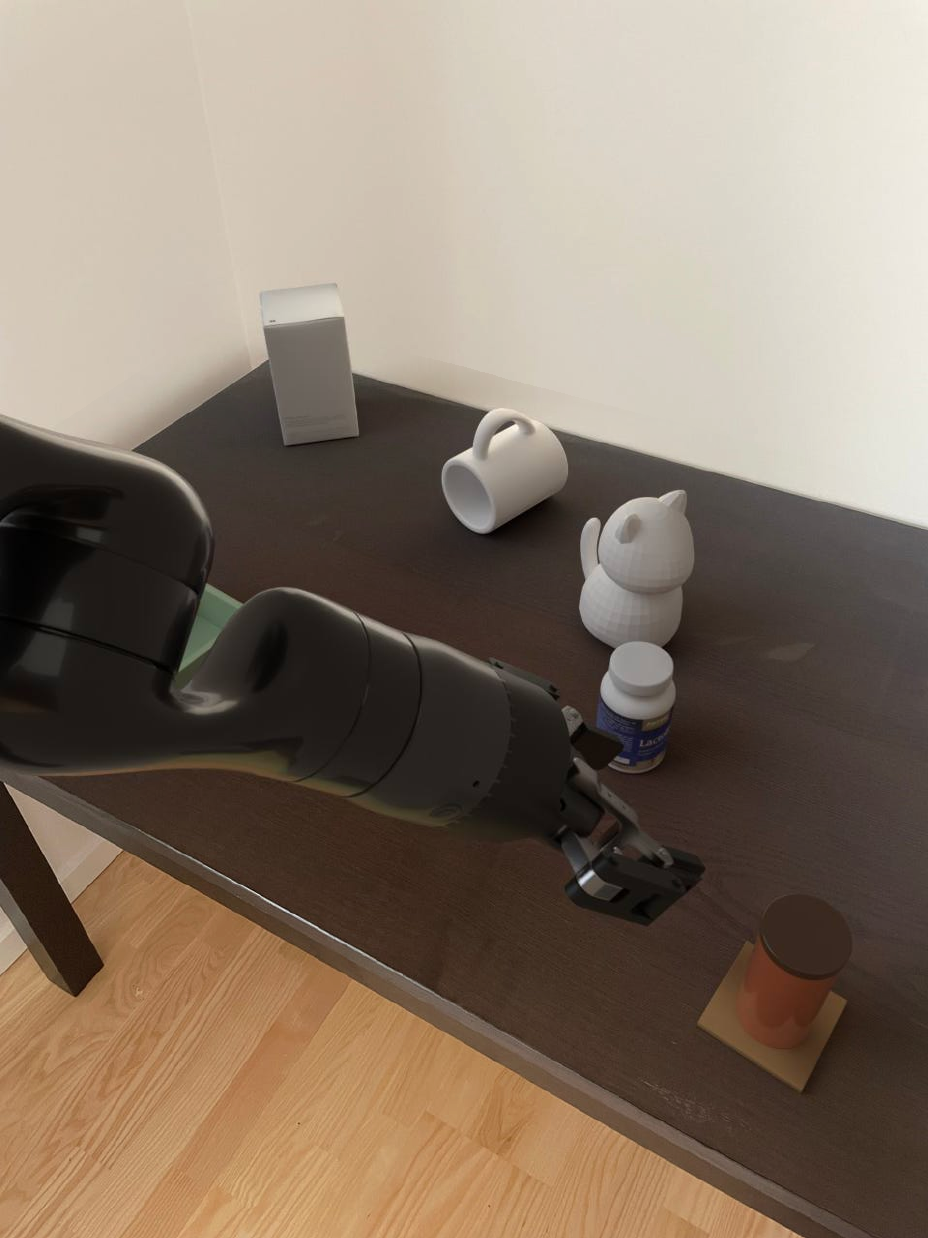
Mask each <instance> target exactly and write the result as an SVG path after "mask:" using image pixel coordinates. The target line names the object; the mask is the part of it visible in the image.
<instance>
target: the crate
mask: <svg viewBox="0 0 928 1238" xmlns="http://www.w3.org/2000/svg"><path fill="white" fill-rule="evenodd" d="M243 604H244V603H242V602H241V601H239V600H237V599H235V598H234V597H231V596H230V595H229V594H226V593H224V592H223V591H221V590H219V589H217V588H216V587H215V586H212V585H211V584H209V583H206V586H205V589H204V592H203V596H202V599H201V600H200V605H199V608H198V612H197V615H196V618H195V621H194V624H193V627H192V631H191V634H190V637H189V640H188V643H187V646H186V649H185V653H184V656H183V659H182V662H181V665H180V668H179V672H178V675H177V676H176V677H174V678H175V680H176V683H175V687H174V691H175V690H177V689H179V688H181V687H182V686H183V685H185V684H186V683H187V681H188V680H189V679H190V678H191V677H192V676H193V675H194V673H195V672H196V671H197V669H198V668H199V666H200V665H201V663H202V662H203V660H204V658H205V657H206V655H207V654H208V652H209V650H210V649H211V647H212V645H213V644H214V642H215V640H216V638H217V637H218V635H219V634H220V632H221V631H222V629H223V628H224V626H225V625H226V624H227V622H228V621H229V619H230V618H231V617H232V615H233V614H234V613H235V612H236V611H237V610H238V609H239V608H240V607H241V606H242V605H243Z"/></svg>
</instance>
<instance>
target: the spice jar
mask: <svg viewBox="0 0 928 1238" xmlns="http://www.w3.org/2000/svg"><path fill="white" fill-rule="evenodd" d="M850 929H851V928H850V927H849V925H848V923H847V921H846V920H845V918H844V917H843V915H842V914H841V913H840V912H839V911H838V910H837V909H836V908H835V907H834V906H832V905H831V904H829V903H828V902H827V901H825V900H823V899H821V898H818V897H816V896H813V895H809V894H805V893H790V894H789V893H788V894H784V895H782V896H779V897H777V898H775V899H774V900H773V901H771V902H770V903H769V904H768V905H767V906H766V908H765V909H764V911H763V913H762V916H761V919H760V922H759V926H758V933H757V936H756V939H755V941H754V947H753V950H752V953H751V956H750V959H749V961H748V964H747V967H746V970H745V973H744V976H743V979H742V982H741V984H740V987H739V990H738V993H737V996H736V1012H737V1015H738V1018H739V1020H740V1022H741V1024H742V1026H743V1027H744V1028H745V1030H746V1031H747V1032H748V1033H749V1034H750V1035H751V1036H752V1037H753V1038H754V1039H756V1040H757V1041H759V1042H761V1043H762V1044H765V1045H767V1046H770V1047H774V1048H791V1047H794V1046H797V1045H799V1044H800V1043H802V1042H803V1041H804V1040H805V1039H806V1038H807V1037H808V1036H809V1034H810V1032H811V1030H812V1028H813V1026H814V1024H815V1022H816V1020H817V1018H818V1016H819V1014H820V1012H821V1010H822V1008H823V1006H824V1004H825V1002H826V1000H827V998H828V995H829V993H830V991H832V989H833V987H834V985H835V983H836V981H837V980H838V977H839V976H840V973H841V971H842V970H843V969H844V968H845V967H846V965H847V963H848V961H849V959H850V957H851V955H852V951H853V937H852V932H851V930H850Z"/></svg>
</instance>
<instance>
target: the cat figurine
mask: <svg viewBox="0 0 928 1238" xmlns="http://www.w3.org/2000/svg"><path fill="white" fill-rule="evenodd" d="M687 497H688V496H687V491H686V490H685V489H677V490H676V489H675V490H672V491H670V492H667V493H665V494H663V495H661V496H660V497H654V496H644V497H643V496H642V497H637V498H633V499H631V500H628V501H627V502H625V503H624V504H622V505H621V506H619V507H618V508H616V510H615V511H614V512H612V514H611V515H610V517H609V518H608V520H607V521H606V523H605V525H604V526H603V529H602V532H601V534H600V531H601V521H600V519H599V518H598V517H591V518H590V519H589V520H587V521H586V523H585V524H584V526H583V528H582V532H581V534H580V541H579V542H580V550H579V551H580V561H581V567H582V571H583V576H584V580H585V581H584V583H583V585H582V588H581V591H580V592H581V593H580V597H579V603H578V604H579V605H578V609H579V614H580V618H581V621H582V623H583V625H584V627H585V628H586V629H587V630H588V632H589V633H590V634H591V635H592V636H593V637H595V639H598V640H599V641H601V642H602V643H604V644H606V645H607V646H609V647H611V648H613V649H614V650H616V649H617V648H618V647H619V646H621V645H623V644H625V643H629V642H647V643H651V644H654V645H657V646H659V647H660V648H663V647H664V646H666V644H668V643H669V641H670V640H671V639H672V638H673V637H674V636H675V634H676V633H677V631H678V629H679V626H680V623H681V621H682V612H683V611H682V610H683V604H684V603H683V601H684V600H683V599H684V598H683V589H682V586H683V584H685V583H686V581H687V580H688V579H689V578H690V576H691V574H692V572H693V570H694V564H695V546H694V544H695V543H694V538H693V532H692V528H691V526H690V523H689V520H688V519H687V517H686V515H685V514H686V510H687V504H688V498H687ZM599 535H600V538H599ZM598 541H599V542H598Z"/></svg>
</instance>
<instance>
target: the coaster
mask: <svg viewBox="0 0 928 1238" xmlns="http://www.w3.org/2000/svg"><path fill="white" fill-rule="evenodd" d="M754 944H755V943H754ZM754 944H753V942H751V941H749V940H746V941H745V942H744V944H743V946H742V948H741V949H740V951H739V952H738V954H737V956H736V958H735V959H734V961H733V963H732V964H731V966H730V968H729V969H728V971H727V972H726V974H725V976H724V977H723V979H722V981H721V982H720V985H719V986H718V987H717V989H716V991H715V993H714V994H713V996H712V997H711V999H710V1000H709V1002H708V1004H707V1006H706V1007H705V1009H704V1010H703V1012H702V1014H701V1016H700V1017H699V1019H698V1021H697V1023H696V1026H698V1028H699V1029H702V1031H705V1032H706V1033H708V1034H709V1035H710V1036H712V1037H714V1038H715V1039H717V1040H718V1041H720V1042H721V1043H723V1044H724V1045H726V1046H727V1047H729V1048H730V1049H732V1050H734V1051H735V1052H736V1053H739V1055H741V1056H742V1057H744V1058H746V1059H747V1060H749V1061H750V1062H751V1063H753V1064H755V1065H756V1066H757V1067H759V1068H760V1069H762V1070H764V1072H766V1073H768V1074H770V1075H771V1076H773V1078H776V1079H777V1080H779V1081H780V1082H782V1083H783V1084H784V1085H786V1086H788V1087H789V1088H791V1089H792V1090H794V1091H795V1092H797V1093H799V1094H802V1093H803V1091H804V1088H805V1087H806V1085H807V1082H808V1081H809V1079H810V1077H811V1074H812V1072H813V1071H814V1069H815V1067H816V1065H817V1063H818V1061H819V1059H820V1057H821V1055H822V1053H823V1051H824V1049H825V1047H826V1045H827V1043H828V1041H829V1040H830V1037H831V1035H832V1033H833V1032H834V1029H835V1027H836V1025H837V1023H838V1021H839V1019H840V1017H841V1015H842V1014H843V1011H844V1010H845V1007H846V1005H847V1003H848V1000H847V999H845V998H844V997H842V996H840V995H839V994H837V993H836V992H833V991H832V990H831V991H830V993H829V995H828V998H827V1000H826V1002H825V1004H824V1006H823V1008H822V1010H821V1012H820V1014H819V1016H818V1018H817V1020H816V1022H815V1024H814V1026H813V1028H812V1030H811V1032H810V1034H809V1036H808V1037H807V1038H806V1039H805V1040H804V1041H803V1042H802V1043H800V1044H799V1045H797V1046H794V1047H791V1048H774V1047H770V1046H767V1045H765V1044H762V1043H761V1042H759V1041H757V1040H756V1039H754V1038H753V1037H752V1036H751V1035H750V1034H749V1033H748V1032H747V1031H746V1030H745V1028H744V1027H743V1026H742V1024H741V1022H740V1020H739V1018H738V1015H737V1012H736V996H737V993H738V990H739V987H740V984H741V982H742V979H743V976H744V973H745V970H746V967H747V964H748V961H749V959H750V956H751V953H752V950H753V947H754Z"/></svg>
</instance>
